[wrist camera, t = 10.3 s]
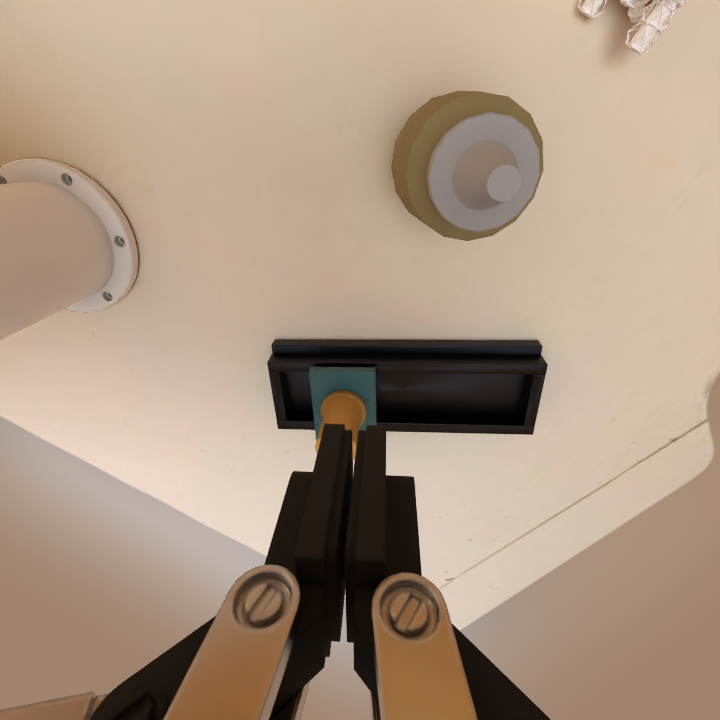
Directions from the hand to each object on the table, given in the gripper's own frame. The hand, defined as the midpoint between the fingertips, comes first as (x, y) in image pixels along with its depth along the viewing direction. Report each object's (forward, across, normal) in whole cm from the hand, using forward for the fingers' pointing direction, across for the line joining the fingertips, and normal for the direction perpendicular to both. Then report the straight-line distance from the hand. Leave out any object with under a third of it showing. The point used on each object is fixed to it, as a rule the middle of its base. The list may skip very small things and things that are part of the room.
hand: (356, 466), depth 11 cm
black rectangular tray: (+25, -3, +12) cm, 28 cm away
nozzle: (+24, +3, +13) cm, 27 cm away
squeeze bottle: (+25, -5, -7) cm, 27 cm away
